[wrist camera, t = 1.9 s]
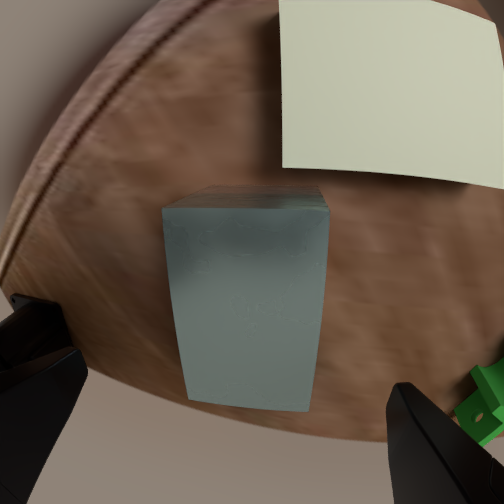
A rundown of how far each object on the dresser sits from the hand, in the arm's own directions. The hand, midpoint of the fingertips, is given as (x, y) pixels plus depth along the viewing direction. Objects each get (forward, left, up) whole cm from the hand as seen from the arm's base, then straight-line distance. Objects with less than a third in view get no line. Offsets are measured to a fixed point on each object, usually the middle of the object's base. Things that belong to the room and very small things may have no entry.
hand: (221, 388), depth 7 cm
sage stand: (+6, +9, -9) cm, 14 cm away
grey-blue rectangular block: (0, 0, -9) cm, 9 cm away
